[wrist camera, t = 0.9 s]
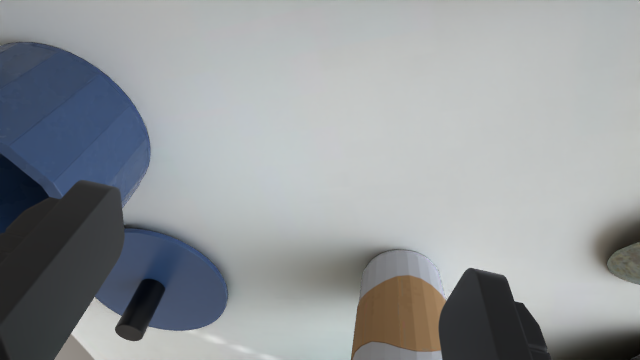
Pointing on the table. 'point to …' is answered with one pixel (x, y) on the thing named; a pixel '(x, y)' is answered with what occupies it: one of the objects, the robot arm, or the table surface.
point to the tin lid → (162, 286)
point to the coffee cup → (399, 309)
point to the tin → (63, 129)
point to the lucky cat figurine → (636, 358)
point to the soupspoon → (626, 263)
